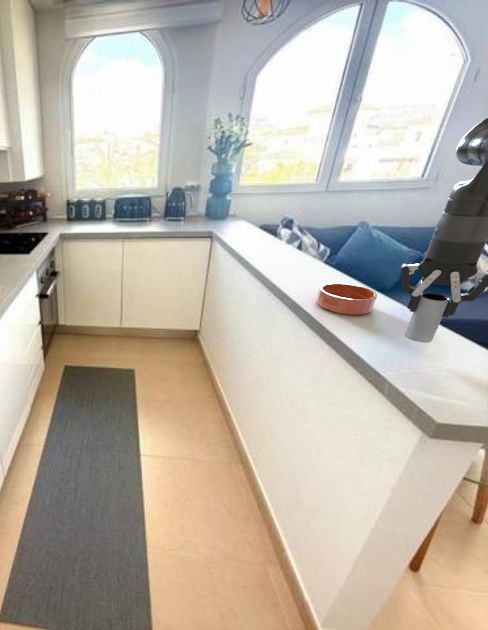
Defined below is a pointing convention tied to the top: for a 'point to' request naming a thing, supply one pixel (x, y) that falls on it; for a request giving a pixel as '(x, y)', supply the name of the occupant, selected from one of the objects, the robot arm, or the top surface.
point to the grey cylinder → (426, 317)
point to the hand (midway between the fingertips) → (428, 312)
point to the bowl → (346, 298)
